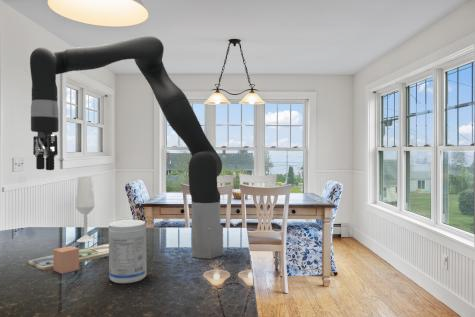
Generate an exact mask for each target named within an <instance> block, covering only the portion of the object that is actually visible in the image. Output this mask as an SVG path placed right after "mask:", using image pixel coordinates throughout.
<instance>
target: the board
mask: <svg viewBox="0 0 475 317" xmlns="http://www.w3.org/2000/svg"><path fill="white" fill-rule="evenodd" d="M106 257H109V243H104V244H99V245H95V246H91V247H85V248H79V264H80V263H83V262H87V261H91V260H95V259H101V258H106ZM26 264H28V265H30V266H33V267H34V268H36V269H38V270H39V269H40V270H42V271H44V272H45V271H49V270H54V266H53V254H51V255H47V256H40V257H37V258H33V259H31V258H30V259H27V260H26Z"/></svg>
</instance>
